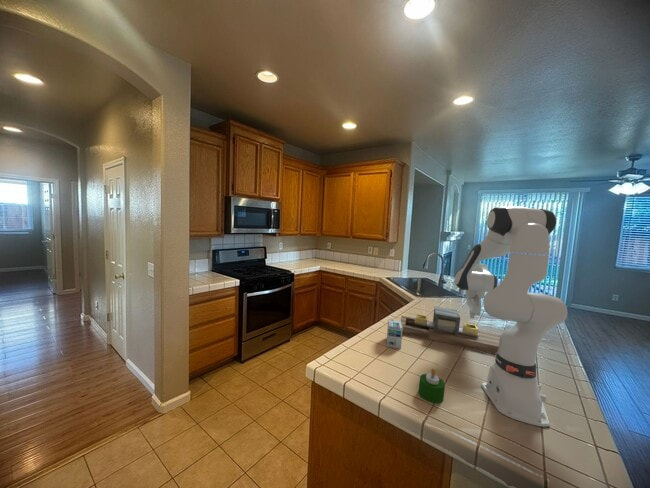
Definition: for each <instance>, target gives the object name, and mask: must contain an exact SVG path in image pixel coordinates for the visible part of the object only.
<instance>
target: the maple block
mask: <svg viewBox="0 0 650 488" xmlns="http://www.w3.org/2000/svg"><path fill="white" fill-rule="evenodd" d="M438 325H440V326H445V327H450V328H455V320H452V319H447V318H441V317H438Z"/></svg>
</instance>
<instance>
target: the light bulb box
mask: <svg viewBox="0 0 650 488" xmlns="http://www.w3.org/2000/svg"><path fill="white" fill-rule="evenodd" d="M386 331H387V332H386V346H387V347H388V348H392V349H400V350H401V349H402V341H403V340H402V339H403V333H402V332H403V327H402V324H401V319H400V320H399V319H394V318H388V321H387V330H386Z"/></svg>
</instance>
